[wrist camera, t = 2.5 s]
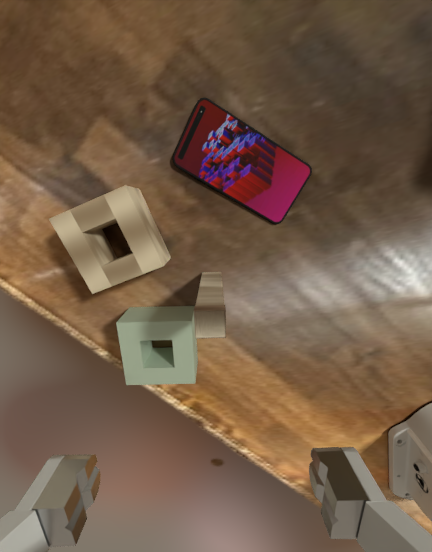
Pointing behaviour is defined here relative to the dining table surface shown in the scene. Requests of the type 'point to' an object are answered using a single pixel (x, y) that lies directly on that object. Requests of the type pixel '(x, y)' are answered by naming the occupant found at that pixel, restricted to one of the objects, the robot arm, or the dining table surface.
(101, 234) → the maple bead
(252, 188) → the smartphone
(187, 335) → the green square-hole block
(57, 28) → the dining table surface
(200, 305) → the brown wooden bar
